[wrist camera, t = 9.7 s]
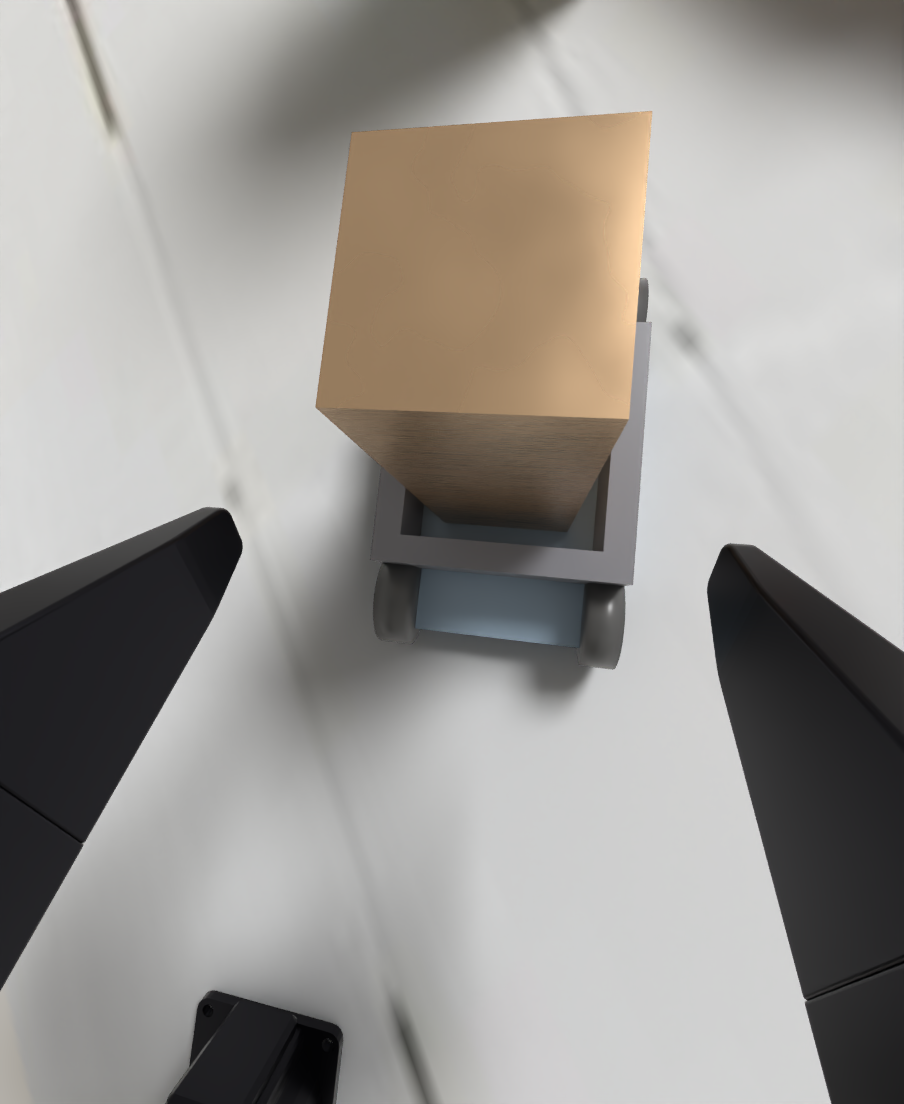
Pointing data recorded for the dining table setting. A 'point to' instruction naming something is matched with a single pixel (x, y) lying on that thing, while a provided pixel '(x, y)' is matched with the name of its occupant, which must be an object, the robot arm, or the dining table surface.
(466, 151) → the tall tan wooden block
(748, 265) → the dining table surface
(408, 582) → the chassis
